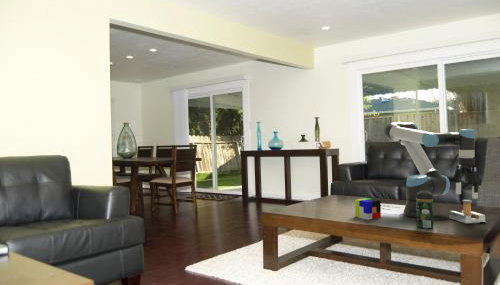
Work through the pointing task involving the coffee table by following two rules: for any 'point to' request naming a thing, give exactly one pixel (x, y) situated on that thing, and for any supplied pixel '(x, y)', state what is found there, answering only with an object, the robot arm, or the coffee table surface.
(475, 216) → the white ridged tray
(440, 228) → the coffee table surface
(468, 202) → the orange cylindrical piece
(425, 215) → the coffee jar
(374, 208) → the puzzle toy
